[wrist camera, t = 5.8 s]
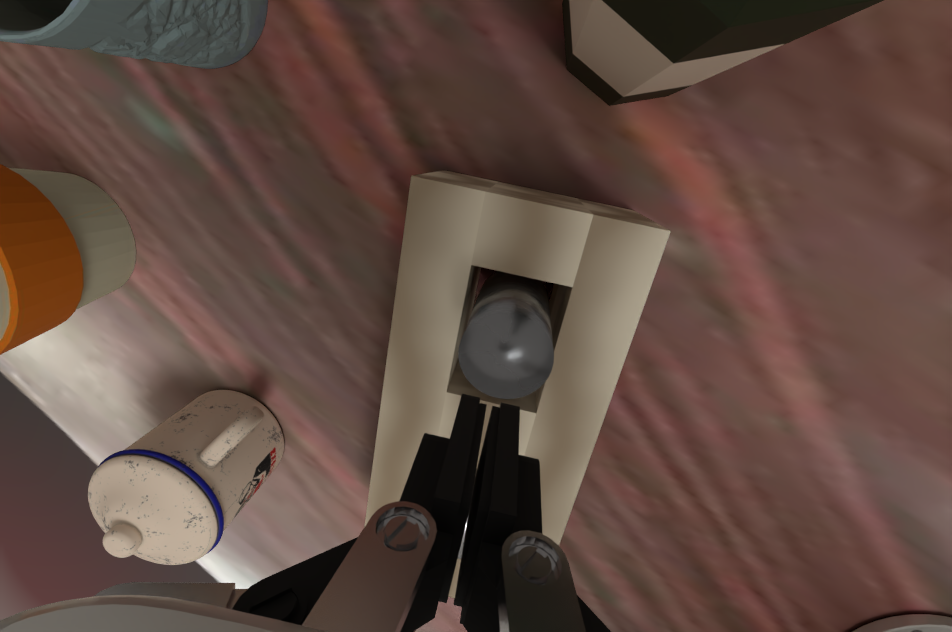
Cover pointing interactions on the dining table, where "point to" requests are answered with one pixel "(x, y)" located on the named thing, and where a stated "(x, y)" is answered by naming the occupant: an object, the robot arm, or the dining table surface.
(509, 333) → the graphite peg
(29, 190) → the reusable coffee cup
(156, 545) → the teacup with lid
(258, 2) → the blue cup
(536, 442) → the birch block
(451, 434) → the robot arm
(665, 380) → the dining table surface
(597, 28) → the wine bottle
